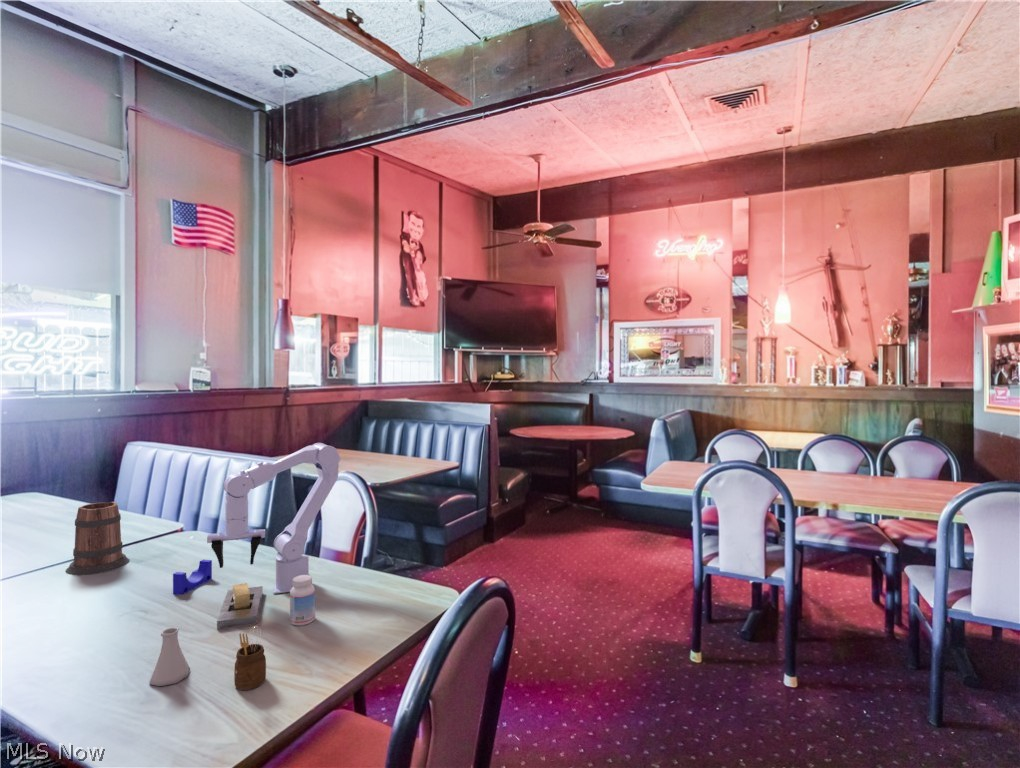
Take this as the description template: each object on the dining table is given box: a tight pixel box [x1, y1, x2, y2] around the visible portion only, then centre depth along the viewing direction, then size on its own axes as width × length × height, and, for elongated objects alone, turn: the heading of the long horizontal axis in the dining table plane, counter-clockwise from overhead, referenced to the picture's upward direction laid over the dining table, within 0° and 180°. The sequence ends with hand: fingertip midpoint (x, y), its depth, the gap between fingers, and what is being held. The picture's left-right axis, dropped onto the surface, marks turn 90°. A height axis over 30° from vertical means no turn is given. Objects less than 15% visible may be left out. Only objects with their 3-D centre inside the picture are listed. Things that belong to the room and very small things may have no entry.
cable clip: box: [172, 559, 213, 595], centre depth 161 cm, size 12×4×6 cm, turn 171°
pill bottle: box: [289, 575, 316, 626], centre depth 139 cm, size 6×6×11 cm
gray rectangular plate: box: [216, 585, 264, 630], centre depth 145 cm, size 9×20×2 cm, turn 21°
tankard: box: [65, 501, 131, 576], centre depth 178 cm, size 24×17×20 cm
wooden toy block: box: [232, 582, 250, 611], centre depth 145 cm, size 4×8×6 cm, turn 31°
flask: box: [148, 626, 191, 687], centre depth 113 cm, size 7×7×10 cm
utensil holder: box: [233, 625, 267, 691], centre depth 111 cm, size 6×6×12 cm
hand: (236, 564), depth 151 cm, fingers open, 7 cm apart
